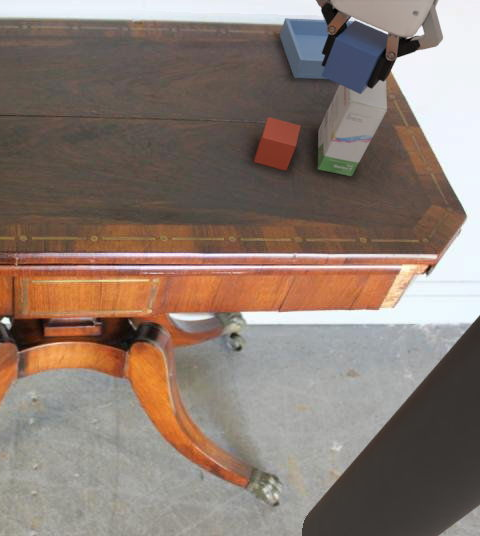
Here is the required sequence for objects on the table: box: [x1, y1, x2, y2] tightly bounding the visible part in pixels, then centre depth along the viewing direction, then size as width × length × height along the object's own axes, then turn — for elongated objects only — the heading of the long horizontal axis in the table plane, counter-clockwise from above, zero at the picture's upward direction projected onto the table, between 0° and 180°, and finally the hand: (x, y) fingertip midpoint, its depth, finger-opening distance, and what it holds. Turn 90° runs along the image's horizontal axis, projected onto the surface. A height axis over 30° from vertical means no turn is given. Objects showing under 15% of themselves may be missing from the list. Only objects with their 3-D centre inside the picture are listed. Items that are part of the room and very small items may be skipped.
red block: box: [253, 116, 302, 172], centre depth 97 cm, size 4×4×4 cm
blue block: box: [321, 20, 388, 94], centre depth 82 cm, size 5×5×5 cm
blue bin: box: [279, 17, 354, 80], centre depth 113 cm, size 11×11×3 cm
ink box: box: [316, 79, 388, 177], centre depth 95 cm, size 9×5×12 cm, turn 167°
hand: (351, 70), depth 83 cm, fingers closed on blue block, 5 cm apart
